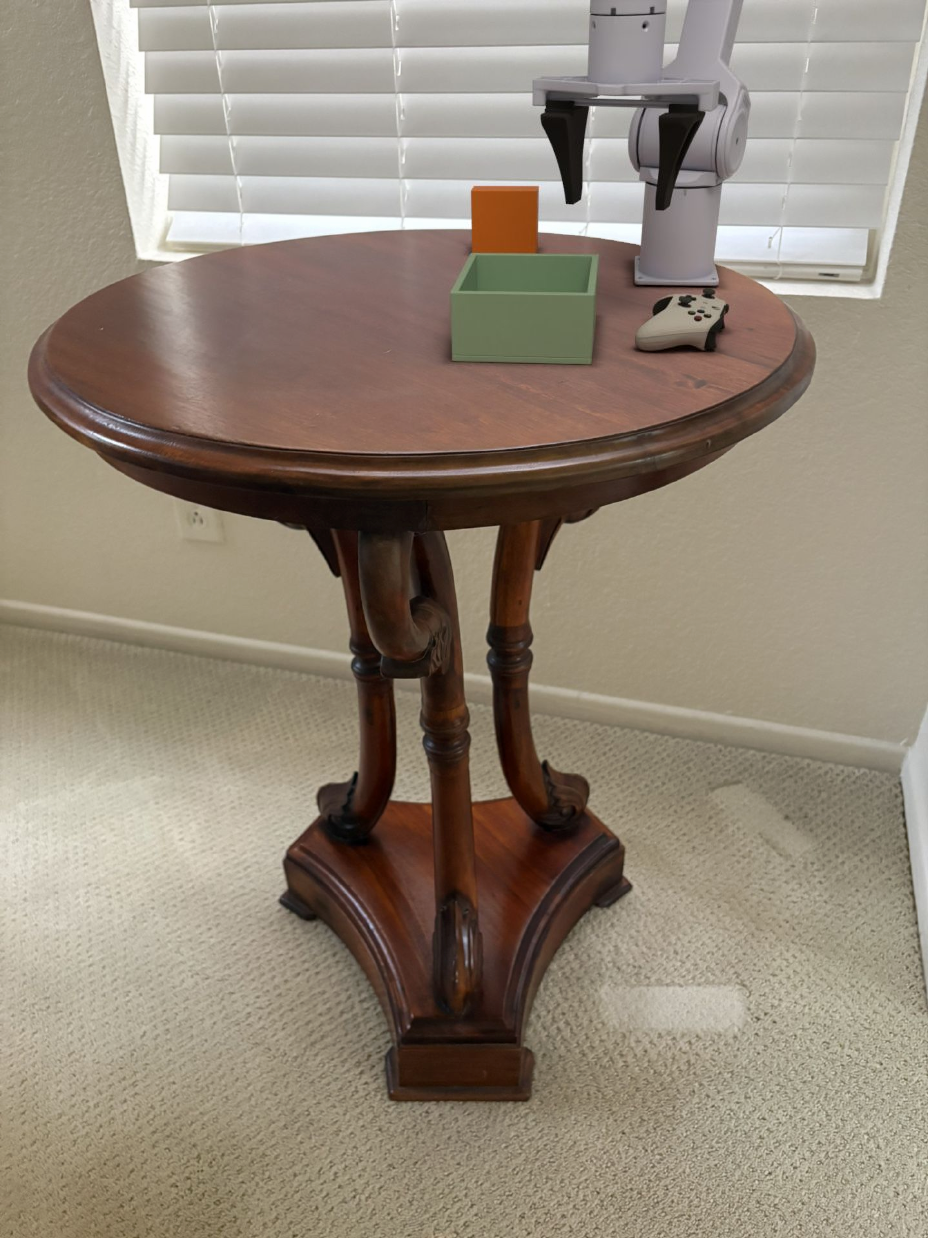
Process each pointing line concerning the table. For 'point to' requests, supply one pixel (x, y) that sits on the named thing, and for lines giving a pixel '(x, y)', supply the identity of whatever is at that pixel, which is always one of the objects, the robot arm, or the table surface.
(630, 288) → the table surface
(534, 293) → the bin
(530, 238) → the block
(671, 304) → the game controller
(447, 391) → the table surface
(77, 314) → the table surface
